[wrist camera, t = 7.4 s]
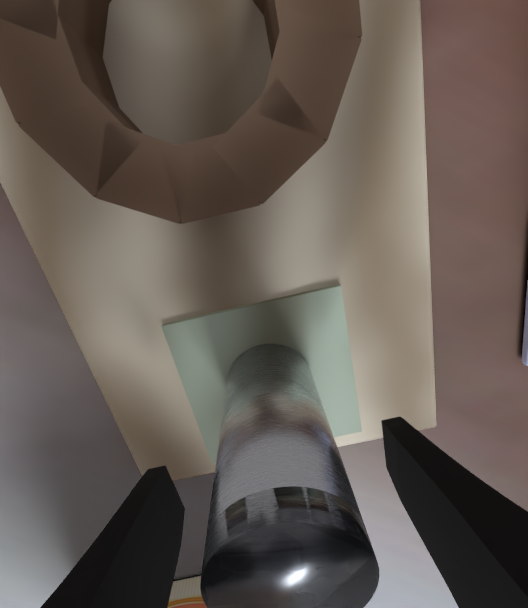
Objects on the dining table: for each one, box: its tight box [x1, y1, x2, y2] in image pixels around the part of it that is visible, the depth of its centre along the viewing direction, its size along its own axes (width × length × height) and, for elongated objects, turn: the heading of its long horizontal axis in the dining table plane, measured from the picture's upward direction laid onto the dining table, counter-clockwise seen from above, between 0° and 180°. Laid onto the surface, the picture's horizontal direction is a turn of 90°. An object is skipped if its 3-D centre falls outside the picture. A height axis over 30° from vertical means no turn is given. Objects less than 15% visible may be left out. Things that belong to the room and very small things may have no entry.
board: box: [0, 0, 436, 481], centre depth 12 cm, size 16×24×4 cm, turn 12°
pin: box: [200, 344, 379, 608], centre depth 10 cm, size 4×4×8 cm
